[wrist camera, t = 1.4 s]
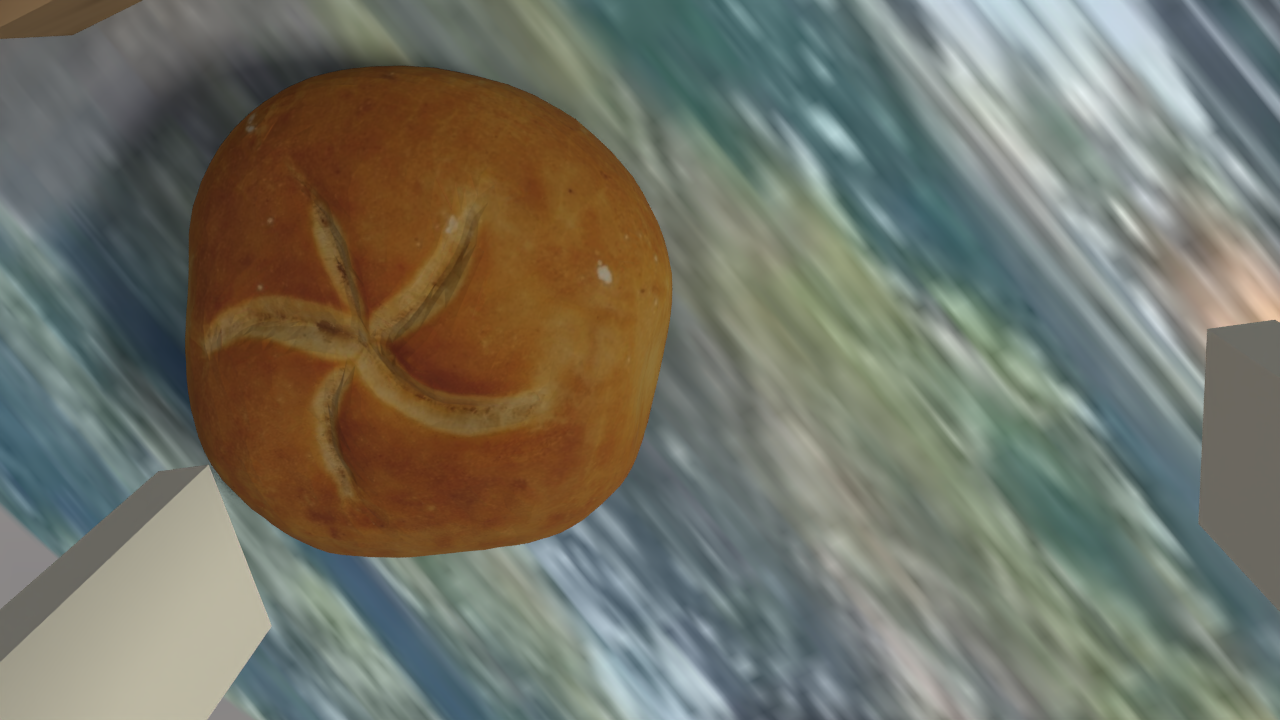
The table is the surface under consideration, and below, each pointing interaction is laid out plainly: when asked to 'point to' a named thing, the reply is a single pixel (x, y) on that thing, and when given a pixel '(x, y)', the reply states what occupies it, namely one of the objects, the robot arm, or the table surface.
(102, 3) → the walnut cube
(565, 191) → the bread
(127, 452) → the table surface
